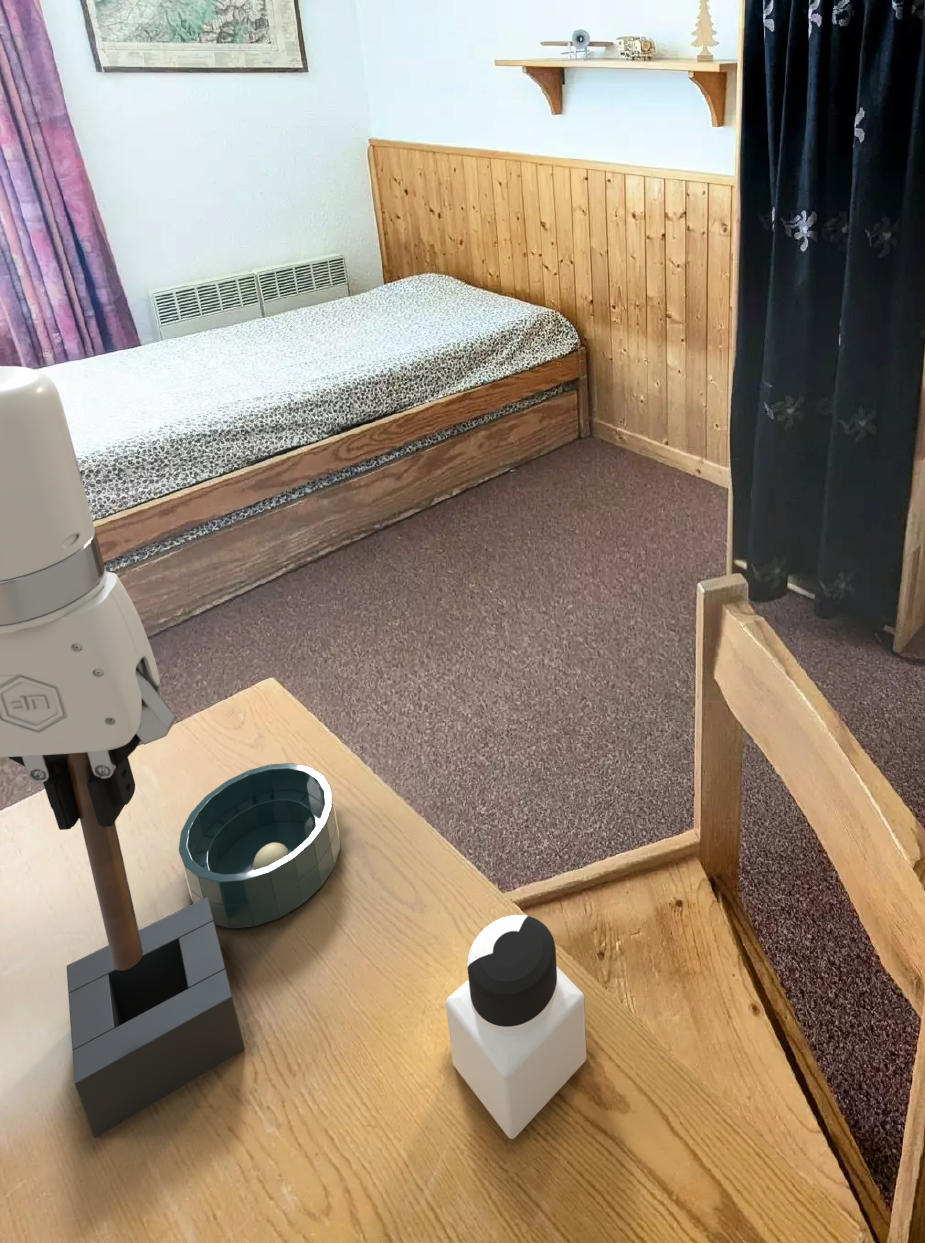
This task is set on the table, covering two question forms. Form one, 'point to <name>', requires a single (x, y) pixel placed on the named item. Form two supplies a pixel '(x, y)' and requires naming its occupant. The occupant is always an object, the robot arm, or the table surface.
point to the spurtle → (106, 871)
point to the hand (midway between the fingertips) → (97, 809)
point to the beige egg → (269, 855)
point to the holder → (151, 1018)
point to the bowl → (260, 843)
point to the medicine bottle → (516, 1021)
